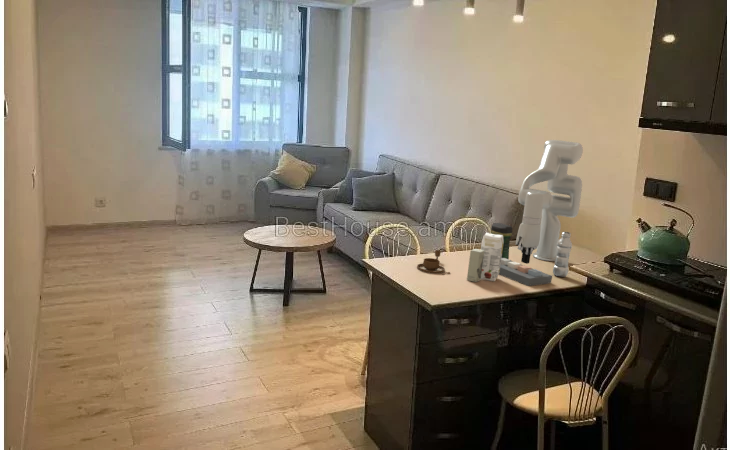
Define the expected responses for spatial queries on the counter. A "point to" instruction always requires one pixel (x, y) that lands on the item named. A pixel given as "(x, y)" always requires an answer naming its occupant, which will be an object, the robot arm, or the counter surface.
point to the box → (475, 265)
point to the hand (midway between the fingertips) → (525, 262)
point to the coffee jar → (506, 232)
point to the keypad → (524, 276)
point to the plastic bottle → (562, 255)
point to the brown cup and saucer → (432, 264)
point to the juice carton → (491, 256)
